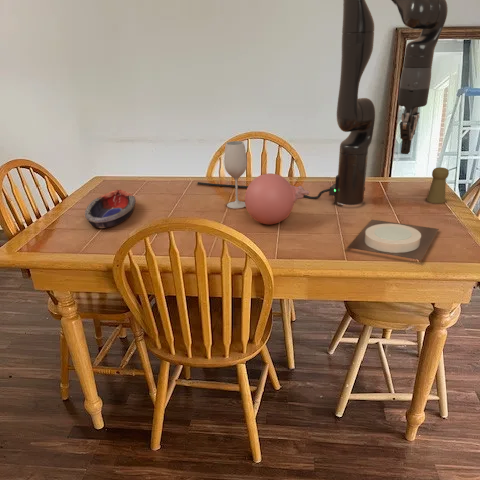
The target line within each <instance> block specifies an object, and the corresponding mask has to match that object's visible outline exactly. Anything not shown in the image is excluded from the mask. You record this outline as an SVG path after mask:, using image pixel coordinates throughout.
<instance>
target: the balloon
mask: <svg viewBox="0 0 480 480" xmlns="http://www.w3.org/2000/svg"><path fill="white" fill-rule="evenodd" d="M247 186H248V188H246V190H245V193H244V202H245V205H246V207H245V209H246V211H247V213H248V215H249V216H250V217H251V218H252V219H253V220H255V221H256V222H258V223H259V224H263V225H276V224H279V223H281V222H283V221H284V220H286V219H287V218H288V216H290V214H291V212H292V210H293V209H294V205H295V204H296V202H297V201H298V200H302V199H304V197H303V196H304V195H307V196H309V195H310V194H311V193H310V190H307V189H304V186H302V185H298V186H295V185H292V184H291V183H290V182H289V180H287V179H286V178H285V177H283V176H282V175H279V174H277V173H263V174H261V175H258V176H257V177H255V178H254V179H252V180H251V181H250V183H249V185H247Z"/></svg>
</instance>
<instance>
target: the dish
mask: <svg viewBox="0 0 480 480" xmlns="http://www.w3.org/2000/svg"><path fill="white" fill-rule="evenodd" d="M135 206H136V197H135V196H134V194H132V193H130V192H128V191H126V190H123V189H116V190H113V191H110V192H107V193H104V194H102V195H99V196H98V197H96V198H94V199H93V200H92V201H91V202H90V203H89V204H88V205H87V206H86V208H85V210H84V217H85V219H86V220H87V222H88V223H89V224H90V225H91V227H94V228H97V229H105V228H106V229H107V228H111V227H114V226H118V225H119V224H121V223H122V222H125V221H126V220H127V219H128V218H129V217H130V216H131V215H132V214H133V213H134V210H135Z"/></svg>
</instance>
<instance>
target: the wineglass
mask: <svg viewBox="0 0 480 480" xmlns="http://www.w3.org/2000/svg"><path fill="white" fill-rule="evenodd" d="M223 163H224V164H223V165H224V169H225V172H226V173H227V175H229V176H230V177H231V178H233V180H234V182H235V184H234V185H235V187H236V188H235V187H234V188H235V199H234V201H231V202H228V203H226V207H227V208H229V209H234V210H238V209H244V208H246V205H245V201H242V200H241V201H240V200H239V188H238V185H239V184H238V183H239V182H238V180H239V178H240V177H241V176H243V175H244V174H245V173H246V170H247V167H248V158H247V151H246V145H245V142H244V141H241V140H232V141H231V140H230V141H227V142H226V143H225V146H224V157H223Z"/></svg>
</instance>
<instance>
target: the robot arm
mask: <svg viewBox="0 0 480 480" xmlns="http://www.w3.org/2000/svg"><path fill="white" fill-rule="evenodd" d="M390 2H391V3H393V4H394V5H395V7H396V8H397V11H398V14H399V17H400V19H401V22H402V24H403V25H404V26H405V27H407V28H408V29H410V30H421V32H420V34H419V36H418V37H417V38H416V39H414V40H411V41H409V42H408V43H407V44H406V47H405V52H404V59H403V65H402V66H403V67H402V71H401V76H400V81H399V90H398V97H397V105H398V106H400V107H404V110H403V113H402V114H401V118H400V120H401V121H400V122H399V135H400V136H399V137H400V140H401V148H400V154H402V155H409V154H410V152H411V148H412V147H411V146H412V140H413V139H414V136H415V134H416V130H417V127H418V123H419V119H420V112H419V108H422V107H426V106H427V104H428V100H429V94H430V86H431V82H432V70H433V69H432V68H433V62H434V56H435V48H436V46H437V44H438V42H439V39H440V37H441V33H442V32H443V28H444V26H445V24H446V22H447V17H448V7H449V6H448V2H447V0H390ZM374 41H375V20H374V18H373V15H372V13H371V10H370V7H369V5H368V3H367V1H366V0H342V29H341V59H340V60H341V61H340V62H341V63H340V77H339V88H338V97H337V102H336V103H337V105H336V123H337V125H338V128H339V130H341V131H342V132H344V133H349V134H348V136H347V137H346V138H345V139H343V140H342V141H341V142H340V144H339V152H338V153H339V154H338V166H337V167H338V168H337V175H336V176H335V181H334V183H333V184H332V185H331V186H329V187H328V188H327V189H323V190H321V191H319V192H318V194H317V195H316V196H311V195H307V194H306V195H304V196H303V198H305V199H310V200H318V199H319V198H321V196H322V195H323V194H325V193H328V196H331V197H334V199H333V204H334V205H338V206H339V207H343V206H357V205H361V204H364V203H365V202H364V201H365V200H364V199H365V192H366V179H367V169H368V168H367V167H368V157H369V148H370V146H371V144H372V141H373V136H374V128H375V122H376V107H375V105H374V102H373V101H372V99H370V98H367V97H359V88H360V83H361V78H362V76H363V74H364V72H365V70H366V68H367V65H368V64H369V61H370V60H371V57H372V55H373V52H374V51H373V50H374V43H375V42H374ZM197 185H200V186H209V187H210V186H211V187H221V188H222V187H223V188H235V189H236V187H235V184H225V183H224V184H223V183H214V182H213V183H212V182H203V181H198V182H197ZM237 185H238V189H247V188H248V186H249V185H239V184H237Z"/></svg>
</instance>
